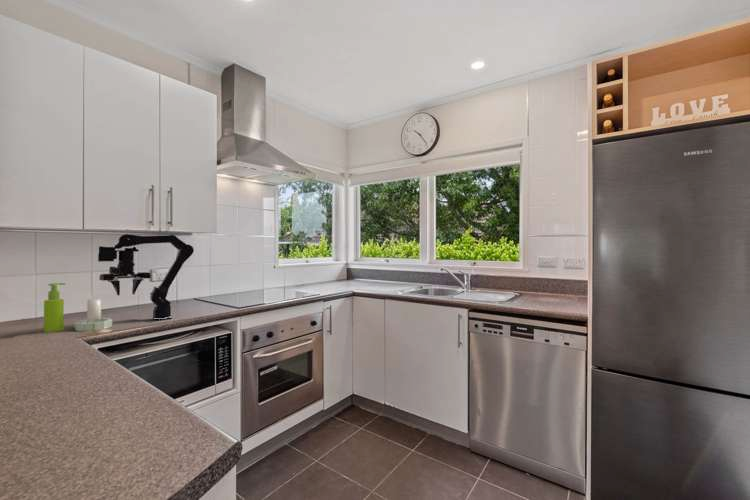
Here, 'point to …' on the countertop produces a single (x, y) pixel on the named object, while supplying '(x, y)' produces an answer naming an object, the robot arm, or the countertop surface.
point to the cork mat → (96, 331)
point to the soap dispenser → (53, 310)
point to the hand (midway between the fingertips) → (126, 294)
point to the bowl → (93, 324)
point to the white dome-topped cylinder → (93, 310)
